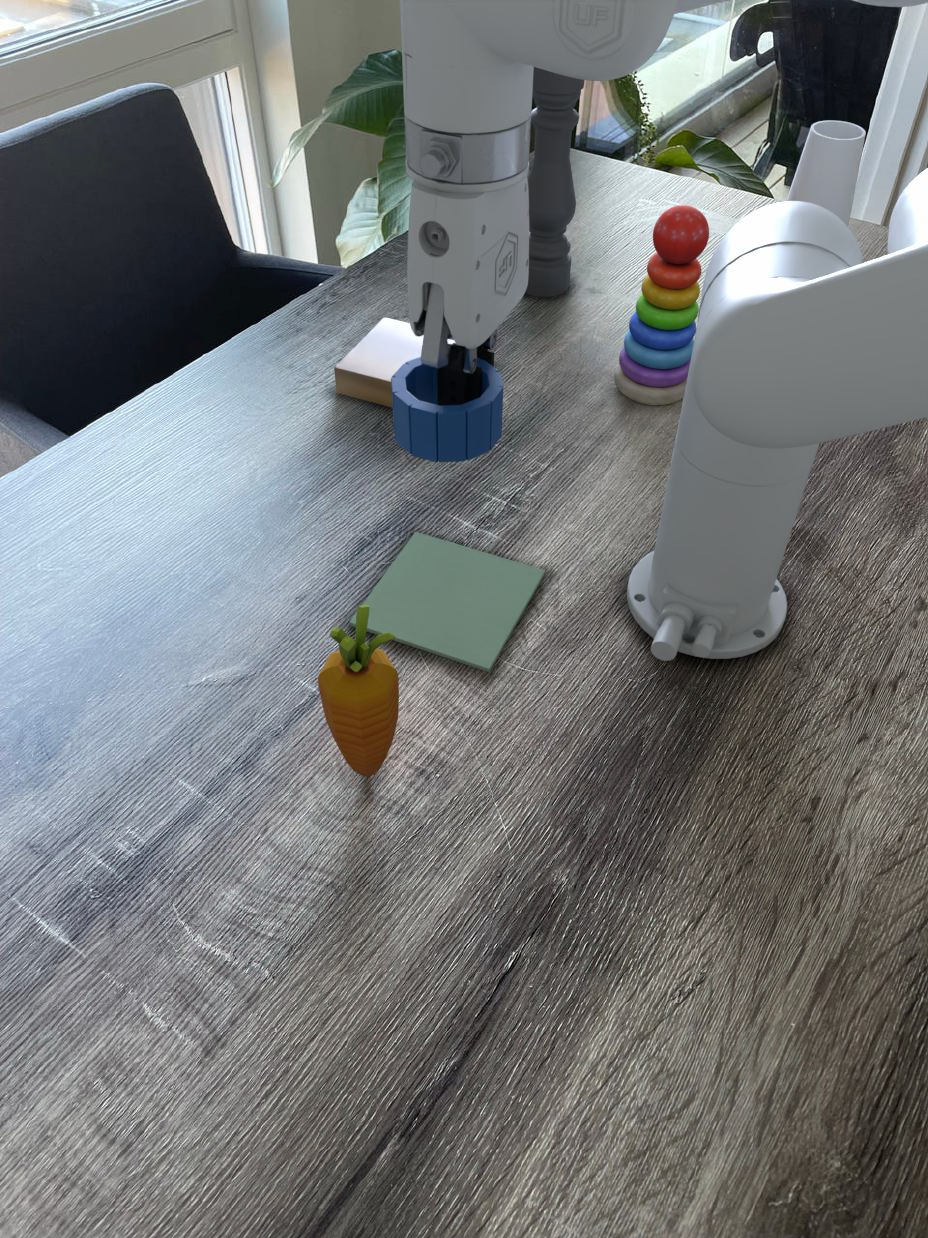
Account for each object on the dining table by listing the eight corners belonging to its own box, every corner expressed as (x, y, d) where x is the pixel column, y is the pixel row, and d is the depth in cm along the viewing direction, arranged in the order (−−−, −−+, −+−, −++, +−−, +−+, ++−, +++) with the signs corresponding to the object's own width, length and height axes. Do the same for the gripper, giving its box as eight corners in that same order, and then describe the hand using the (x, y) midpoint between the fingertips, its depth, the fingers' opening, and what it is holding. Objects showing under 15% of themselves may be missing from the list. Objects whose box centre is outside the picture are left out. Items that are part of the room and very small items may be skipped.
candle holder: (508, 277, 119) (517, 45, 101) (553, 267, 121) (570, 38, 103) (532, 301, 115) (546, 64, 98) (579, 290, 117) (601, 55, 99)
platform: (443, 421, 98) (442, 395, 96) (336, 393, 102) (333, 367, 100) (486, 366, 106) (487, 341, 103) (385, 341, 109) (384, 316, 107)
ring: (474, 473, 68) (475, 424, 65) (375, 445, 70) (371, 396, 67) (516, 415, 73) (519, 367, 70) (423, 391, 75) (421, 343, 72)
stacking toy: (608, 402, 101) (631, 220, 88) (618, 361, 106) (642, 183, 93) (686, 413, 100) (723, 230, 86) (693, 371, 105) (728, 192, 92)
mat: (489, 672, 75) (489, 669, 75) (349, 625, 79) (348, 622, 78) (545, 573, 83) (545, 570, 83) (415, 534, 86) (415, 531, 86)
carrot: (366, 733, 71) (351, 581, 61) (418, 770, 69) (412, 618, 58) (316, 777, 69) (291, 626, 58) (369, 817, 66) (353, 667, 56)
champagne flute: (781, 392, 102) (847, 150, 85) (730, 365, 106) (783, 127, 89) (821, 370, 105) (892, 131, 88) (770, 344, 109) (829, 110, 92)
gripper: (471, 205, 54) (468, 477, 67) (571, 111, 64) (551, 364, 77) (349, 180, 56) (369, 449, 69) (464, 93, 66) (463, 343, 79)
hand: (465, 403), depth 73 cm, fingers closed on ring, 1 cm apart
